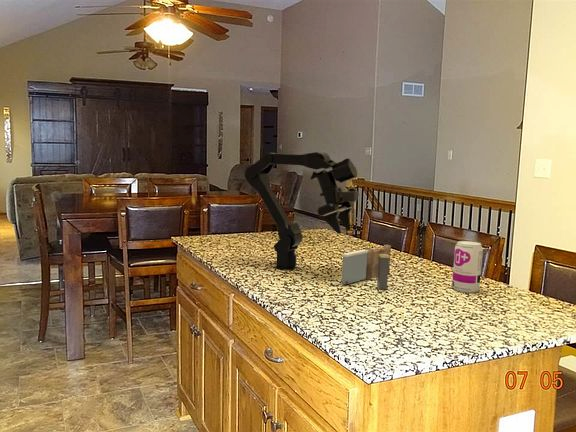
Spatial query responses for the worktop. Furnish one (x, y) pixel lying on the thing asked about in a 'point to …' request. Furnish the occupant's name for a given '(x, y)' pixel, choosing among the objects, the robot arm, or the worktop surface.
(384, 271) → the stile
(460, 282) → the supplement can
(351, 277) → the cream flat slab
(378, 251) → the fence
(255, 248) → the worktop surface
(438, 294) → the worktop surface
